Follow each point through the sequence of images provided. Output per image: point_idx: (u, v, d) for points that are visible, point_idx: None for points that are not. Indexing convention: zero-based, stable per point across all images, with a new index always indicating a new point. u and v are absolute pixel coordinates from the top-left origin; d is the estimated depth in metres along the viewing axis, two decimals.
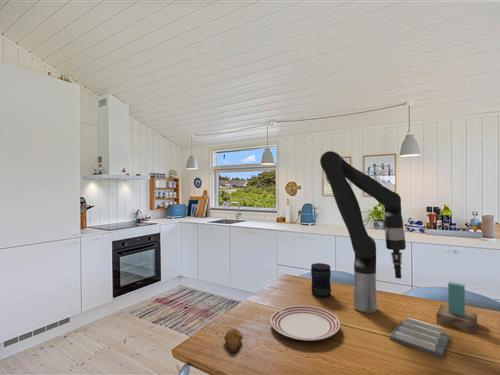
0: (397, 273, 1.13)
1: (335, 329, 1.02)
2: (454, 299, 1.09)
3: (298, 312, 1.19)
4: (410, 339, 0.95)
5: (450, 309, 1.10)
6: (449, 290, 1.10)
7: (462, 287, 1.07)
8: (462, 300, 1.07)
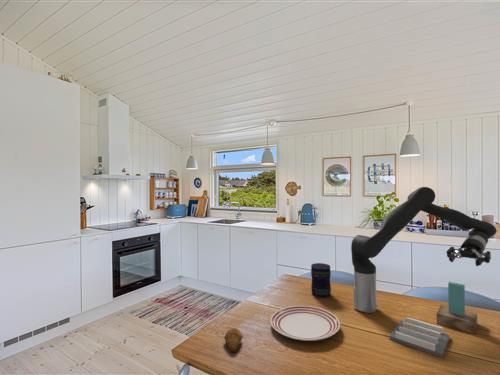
0: (481, 261, 1.08)
1: (335, 329, 1.02)
2: (454, 299, 1.09)
3: (298, 312, 1.19)
4: (410, 339, 0.95)
5: (450, 309, 1.10)
6: (449, 290, 1.10)
7: (462, 287, 1.07)
8: (462, 300, 1.07)
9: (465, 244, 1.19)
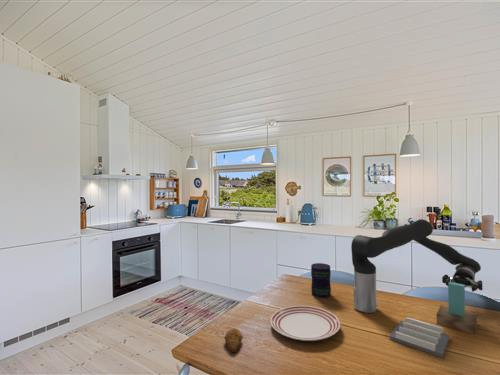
0: (476, 287, 1.15)
1: (335, 329, 1.02)
2: (454, 299, 1.09)
3: (298, 312, 1.19)
4: (410, 339, 0.95)
5: (450, 309, 1.10)
6: (449, 290, 1.10)
7: (462, 287, 1.07)
8: (462, 300, 1.07)
9: (458, 273, 1.27)
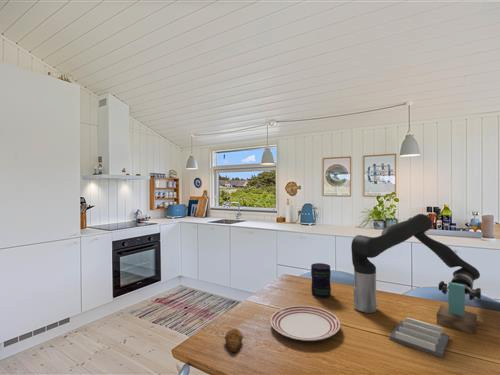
0: (474, 295, 1.09)
1: (335, 329, 1.02)
2: (454, 299, 1.09)
3: (298, 312, 1.19)
4: (410, 339, 0.95)
5: (450, 309, 1.10)
6: (449, 290, 1.10)
7: (462, 287, 1.07)
8: (462, 300, 1.07)
9: (455, 280, 1.20)
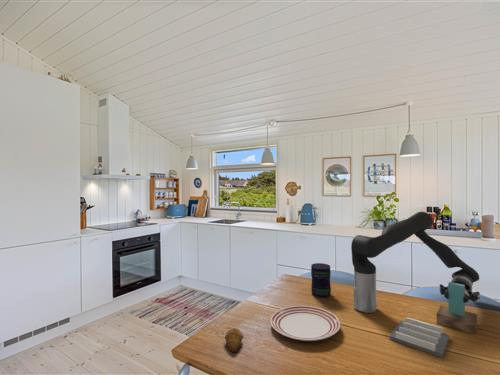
0: (468, 298, 1.06)
1: (335, 329, 1.02)
2: (454, 299, 1.09)
3: (298, 312, 1.19)
4: (410, 339, 0.95)
5: (450, 309, 1.10)
6: (449, 290, 1.10)
7: (462, 287, 1.07)
8: (462, 300, 1.07)
9: (454, 282, 1.17)
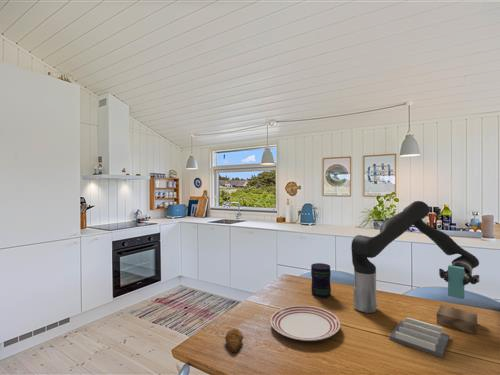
0: (468, 281, 1.06)
1: (335, 329, 1.02)
2: (453, 281, 1.08)
3: (298, 312, 1.19)
4: (410, 339, 0.95)
5: (449, 292, 1.09)
6: (448, 272, 1.10)
7: (462, 269, 1.07)
8: (462, 283, 1.07)
9: None
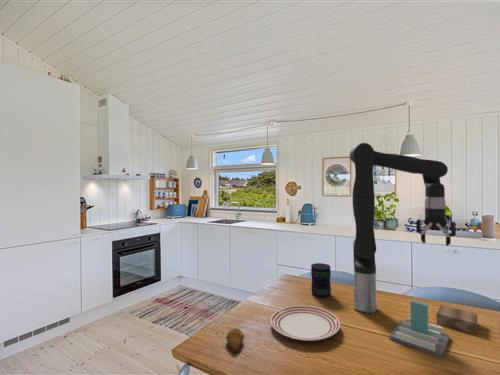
0: (450, 240, 1.15)
1: (335, 329, 1.02)
2: (416, 319, 0.99)
3: (297, 312, 1.19)
4: (410, 339, 0.95)
5: None
6: (411, 309, 1.00)
7: (424, 306, 0.97)
8: (424, 321, 0.97)
9: (429, 218, 1.18)
